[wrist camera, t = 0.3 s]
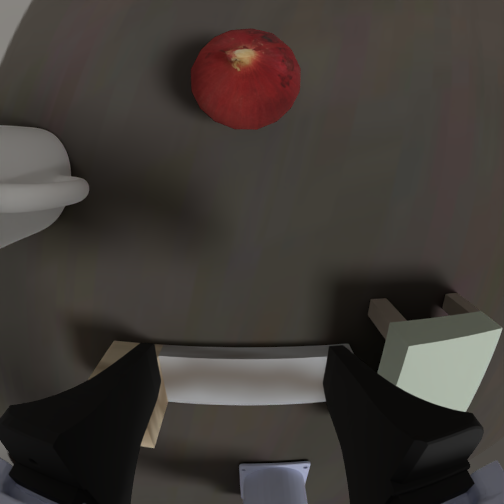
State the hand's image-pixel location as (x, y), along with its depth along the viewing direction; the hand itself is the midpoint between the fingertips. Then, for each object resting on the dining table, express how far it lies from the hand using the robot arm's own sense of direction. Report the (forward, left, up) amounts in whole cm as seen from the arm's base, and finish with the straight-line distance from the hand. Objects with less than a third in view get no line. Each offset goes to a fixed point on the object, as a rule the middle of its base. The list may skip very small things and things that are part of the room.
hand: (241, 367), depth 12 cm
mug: (+8, +15, -10) cm, 20 cm away
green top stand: (-8, -14, -10) cm, 19 cm away
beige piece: (-8, +1, -10) cm, 13 cm away
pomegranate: (+13, 0, -10) cm, 16 cm away
